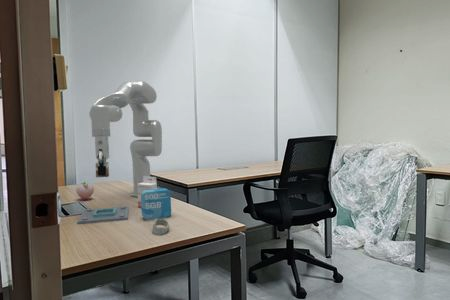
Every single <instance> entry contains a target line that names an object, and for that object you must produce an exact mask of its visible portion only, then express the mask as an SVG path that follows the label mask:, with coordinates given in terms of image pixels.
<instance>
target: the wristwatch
mask: <svg viewBox="0 0 450 300" xmlns="http://www.w3.org/2000/svg"><path fill="white" fill-rule="evenodd" d="M152 225H153V226H152V229H151V232H152V233H153V234H155V235H165V234H166V233H168V231H169V227H170V224H169V221H168V220H166V219H163V218H158V219H157V218H156V219H154V221H153V224H152ZM158 226H163V228H161V227H158Z"/></svg>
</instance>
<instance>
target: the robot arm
mask: <svg viewBox="0 0 450 300" xmlns="http://www.w3.org/2000/svg"><path fill="white" fill-rule="evenodd" d="M156 101H157V91H156V90H155V88H154V87H153V86H152V85H150V84H149V83H147V82H146V81H143V80H128V81H123V82H122V83H121V84H120V85H119V86H118V88H116V90H115V91H114V92H113V93H110V94H108V95H106V96H104V97H102V98H99V99H98V100H96V102H94V103H93V104H92V106H91V107H90V109H89V112H88V114H89V118H90V120H91V122H90V123H91V137H92V138H94V148H95V149H94V150H95V159H96V160H97V163H98V176H104V175H106V166H105V162H107V160H108V159H109V158H110V149H109V148H110V146H109V137H111V125H110V124H111V123H116V122H118V121H120V120H121V119H122V118H123V111H122V109H123V108H125V107H127V106H128V105H129V107H130V108H131V111H132V131H133V135H134V136H135V137H138V138H139V139H134V140H132V141H131V142H130V145H129V149H130V154H131V155H130V156H131V161H132V179H133V181H132V182H133V184H132V185H133V192H131V193H130V195H131V196H132V197H134V198H138V185H137V184H139V183H142V182H143V176H146V177H151V163H150V161H149V159H148V158H147V157H158V156H160V155H161V154H162V152H163V151H162V150H163V144H162V143H163V136H162V135H163V132H162V131H163V130H162V129H163V128H162V123H161V122H160V121H158V120H157V119H149V110H148V109H147V107H146V106H145V104H148V105H149V104H154V103H155V102H156ZM141 138H142V139H141ZM145 138H151V139H145ZM147 180H151V179H150V178H149V179H147ZM157 189H160V187H157Z"/></svg>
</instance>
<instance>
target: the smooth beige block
mask: <svg viewBox="0 0 450 300" xmlns="http://www.w3.org/2000/svg"><path fill="white" fill-rule="evenodd" d="M105 166H106V175H104V176H98V162H95V178H108V177H110V169H109V166H110V165H109V161H106V162H105Z"/></svg>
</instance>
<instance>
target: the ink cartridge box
mask: <svg viewBox="0 0 450 300" xmlns="http://www.w3.org/2000/svg"><path fill="white" fill-rule="evenodd" d="M149 178H150V180H147V179H149ZM137 185H138V197H137V208H141V192H142V191H144V190H153V189H157V188H158V184H157V177H156V176H150V177H146V176H143V182H142V183H139V184H137Z"/></svg>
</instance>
